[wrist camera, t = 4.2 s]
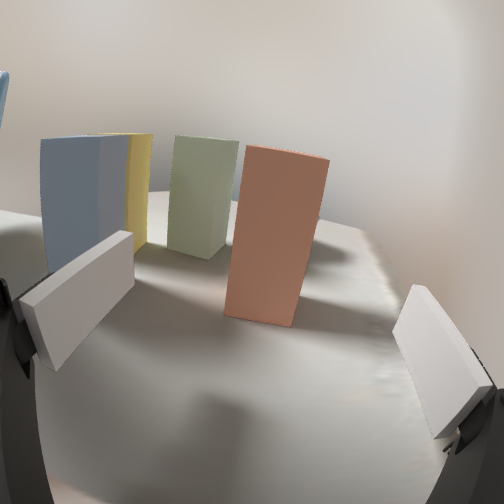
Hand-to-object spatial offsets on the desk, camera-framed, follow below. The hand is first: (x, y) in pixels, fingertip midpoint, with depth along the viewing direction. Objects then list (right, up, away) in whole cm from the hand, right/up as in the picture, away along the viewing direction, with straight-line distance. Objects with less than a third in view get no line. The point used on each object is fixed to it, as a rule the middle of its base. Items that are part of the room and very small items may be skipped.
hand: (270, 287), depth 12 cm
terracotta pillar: (0, -3, +11) cm, 11 cm away
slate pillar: (-14, -1, +9) cm, 17 cm away
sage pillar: (-7, +2, +19) cm, 21 cm away
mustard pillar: (-15, +2, +16) cm, 22 cm away
